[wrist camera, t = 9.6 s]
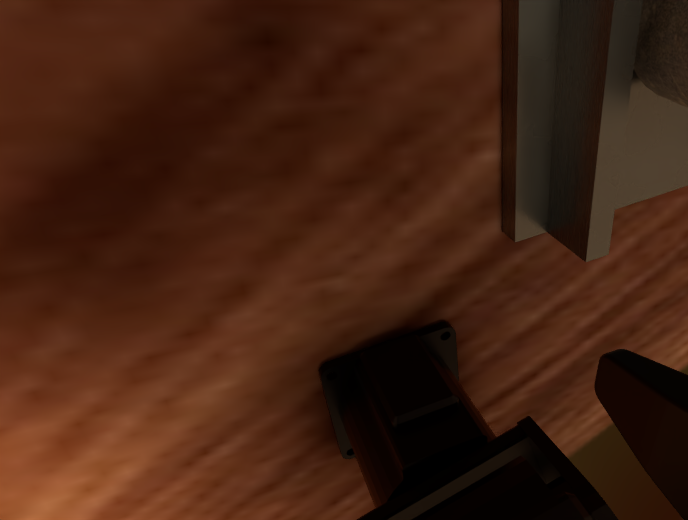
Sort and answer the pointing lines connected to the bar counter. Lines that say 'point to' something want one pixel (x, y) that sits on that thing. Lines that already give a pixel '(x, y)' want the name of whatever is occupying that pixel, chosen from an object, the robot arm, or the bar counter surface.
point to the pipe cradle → (581, 122)
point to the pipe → (664, 49)
